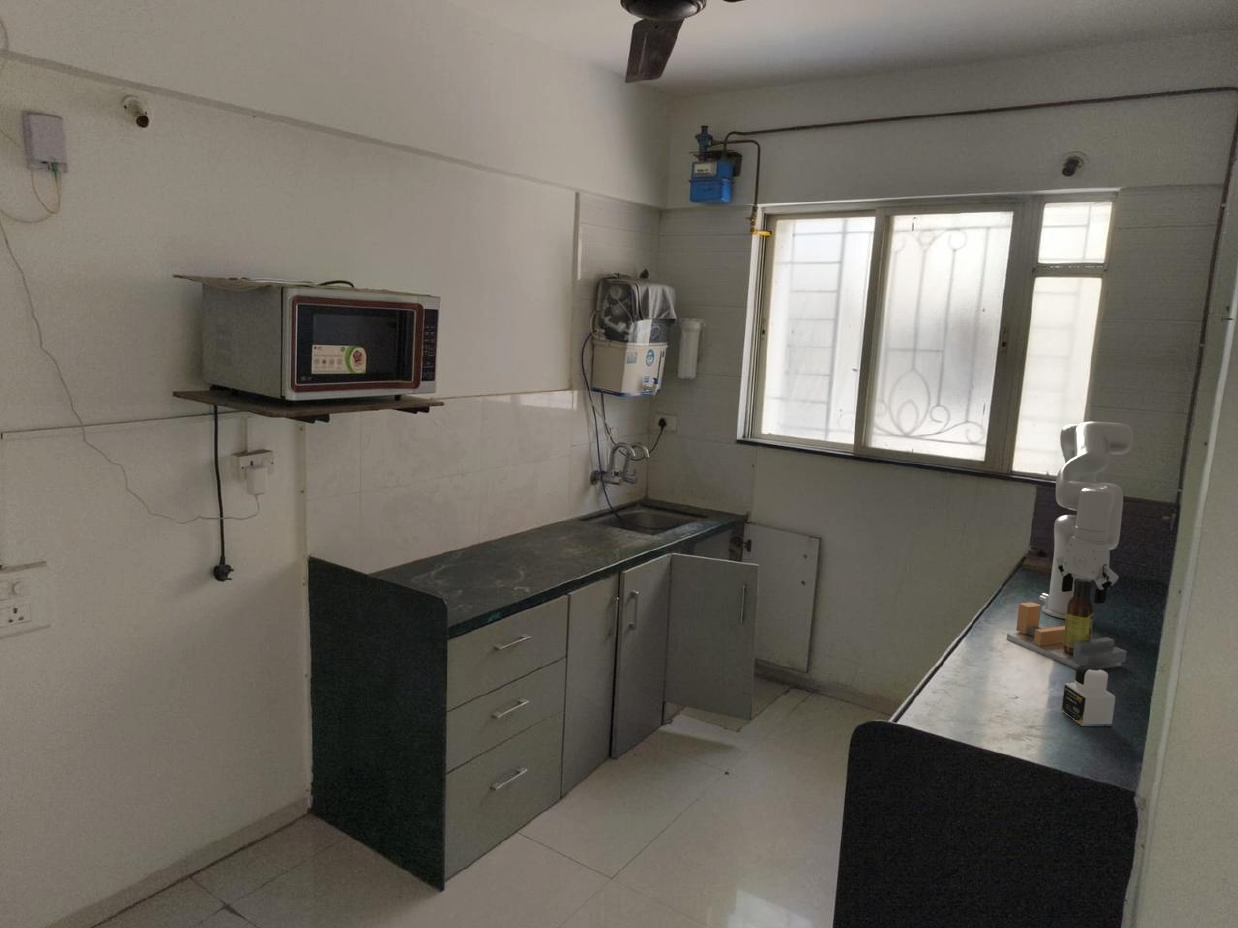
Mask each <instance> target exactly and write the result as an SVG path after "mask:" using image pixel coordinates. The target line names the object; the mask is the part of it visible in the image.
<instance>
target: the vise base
mask: <svg viewBox="0 0 1238 928" xmlns="http://www.w3.org/2000/svg"><path fill="white" fill-rule="evenodd" d="M1006 640H1008V641H1010V642H1013V643H1015V644H1017V645H1019V646H1022V647H1024V648H1026V649H1029V650H1031V649H1032V650H1031V651H1033V650H1034V651H1033V652H1035V651H1036V653H1037V654H1040V655H1042V656H1044V657H1045V656H1046V657H1047V658H1049V659H1052V660H1055V661H1057V662H1059V663H1061V664H1063V665H1066V666H1068V667H1070V668H1073V669H1075V670H1076V668H1077V667H1078V666H1080V665H1092V666H1096V667H1099V668H1101V669H1103V670H1105V669H1110V668H1117V667H1122V663H1126V661H1127V652H1128V650H1126V649H1122V648H1119V647H1117V646H1115V640H1114V639H1113V638H1111V637H1107V636H1106V637H1100V638H1095V639H1094V638H1093V639H1092V638H1091V640H1084V641H1077V642H1075V643H1074V651H1073V654H1071V653H1068V652H1066V651H1065V650H1064V644H1063V643H1058V644H1050V645H1043V646H1039V645H1036V644H1034V636H1032V635H1029V634H1023V633H1021V632H1019V631H1017V632H1012V633H1007V634H1006Z"/></svg>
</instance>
